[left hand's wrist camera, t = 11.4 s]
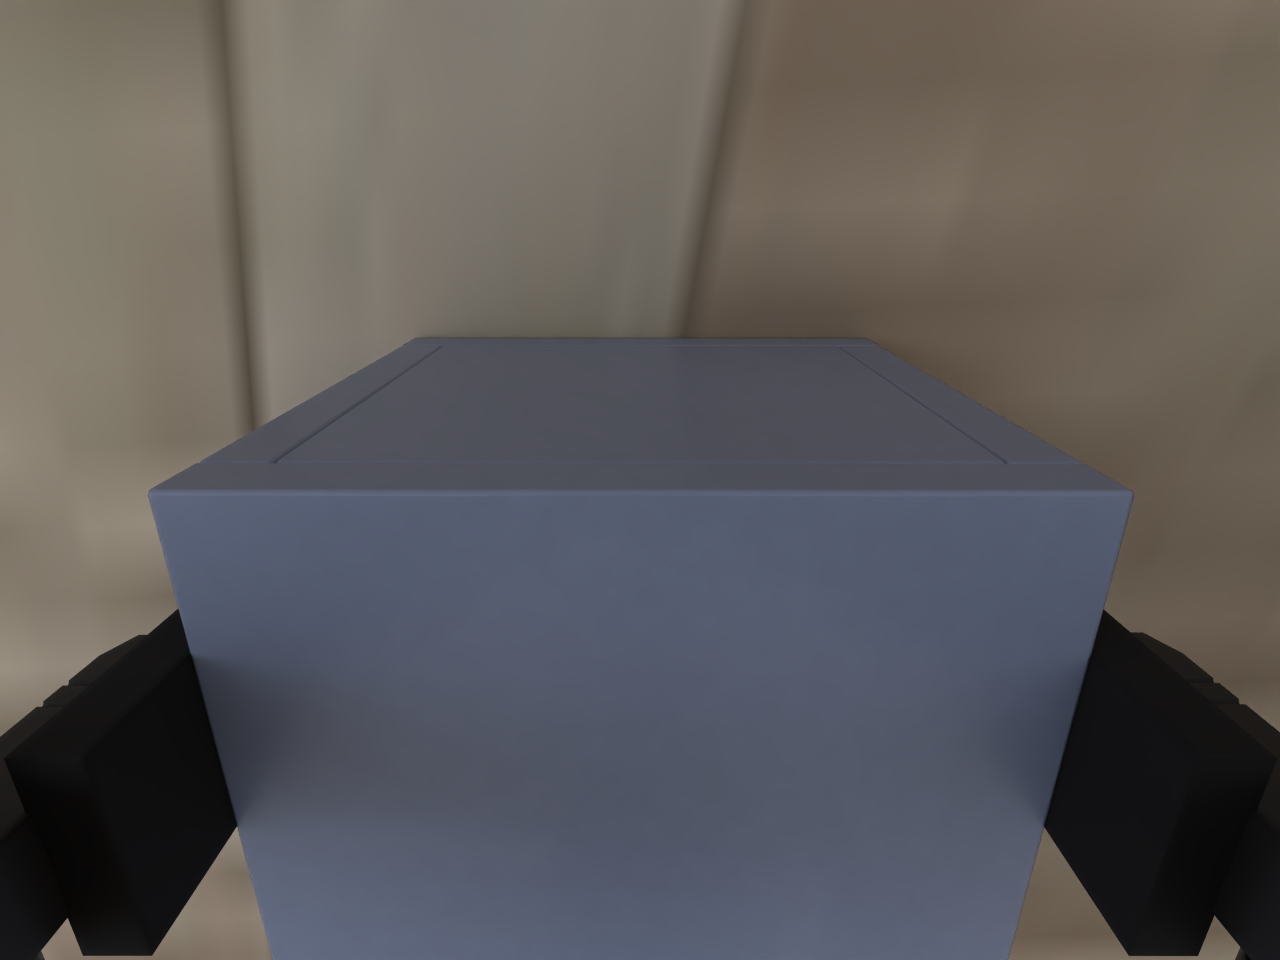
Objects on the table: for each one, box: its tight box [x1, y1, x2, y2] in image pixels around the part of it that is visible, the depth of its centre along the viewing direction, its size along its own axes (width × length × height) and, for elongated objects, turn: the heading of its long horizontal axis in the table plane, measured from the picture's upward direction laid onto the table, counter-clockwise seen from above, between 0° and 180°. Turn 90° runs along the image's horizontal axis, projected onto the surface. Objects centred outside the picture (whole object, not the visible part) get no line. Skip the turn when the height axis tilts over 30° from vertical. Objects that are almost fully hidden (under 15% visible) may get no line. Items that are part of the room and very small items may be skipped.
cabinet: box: [148, 338, 1134, 960], centre depth 15 cm, size 16×11×10 cm
